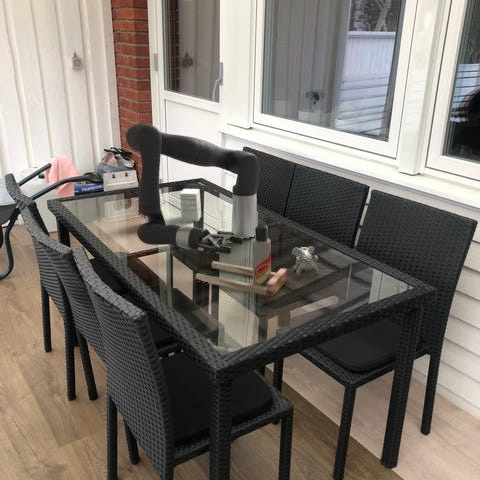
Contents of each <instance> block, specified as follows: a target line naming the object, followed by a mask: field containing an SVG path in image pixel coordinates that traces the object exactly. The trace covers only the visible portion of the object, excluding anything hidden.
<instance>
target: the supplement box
mask: <svg viewBox="0 0 480 480" xmlns="http://www.w3.org/2000/svg"><path fill="white" fill-rule="evenodd" d="M179 201H180V213H181V214H180V216H181V222H191V223H193V222H197V223H198V222H199V221H200V219H201V217H202V210H201V209H202V208H201V207H202V205H201V192H200V188H183V189H182V190H181V191H180V193H179Z"/></svg>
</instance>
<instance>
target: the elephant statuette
mask: <svg viewBox="0 0 480 480" xmlns="http://www.w3.org/2000/svg"><path fill="white" fill-rule="evenodd" d="M314 252H315V248H314V246H309V247H306V246H305V247H303V246H301V247H300V248H299V247H293V248H292V252H291V253H292V256H293V255H294V256H296V257H295V265H293V269H294V271H295V274H296V276H300V275H301V273H302V271H304V270H305V271H306V272H308V270H309V271H310V270H313V272H314V274H315V275H318V274H319V273H320V271H319V267H318V266H317V265H316V263H315V261H319V257H318V255H313V254H314Z"/></svg>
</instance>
